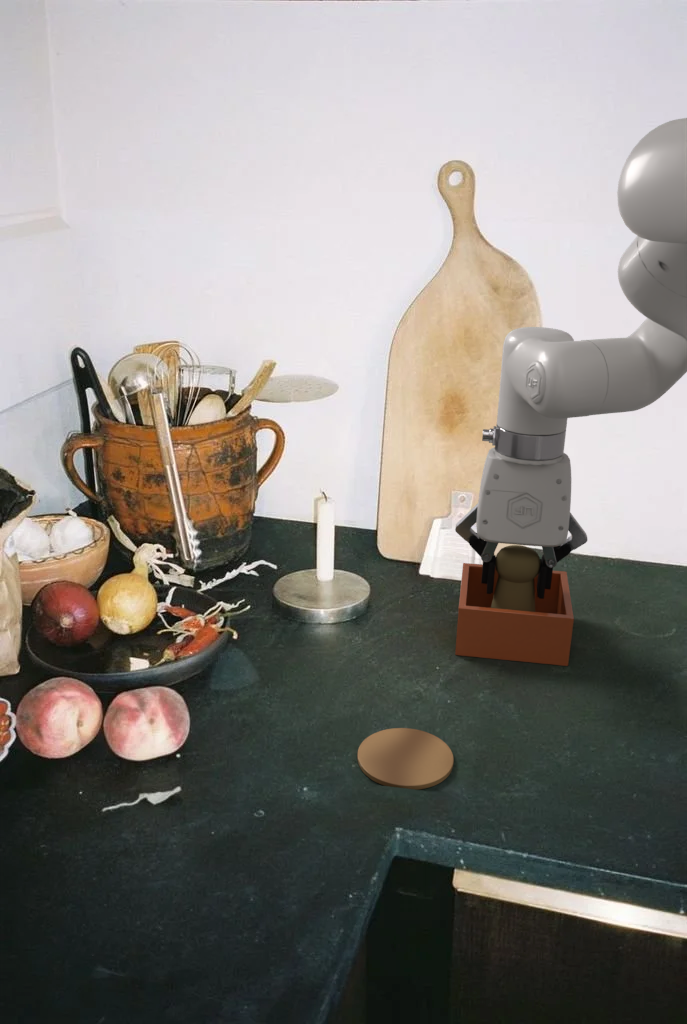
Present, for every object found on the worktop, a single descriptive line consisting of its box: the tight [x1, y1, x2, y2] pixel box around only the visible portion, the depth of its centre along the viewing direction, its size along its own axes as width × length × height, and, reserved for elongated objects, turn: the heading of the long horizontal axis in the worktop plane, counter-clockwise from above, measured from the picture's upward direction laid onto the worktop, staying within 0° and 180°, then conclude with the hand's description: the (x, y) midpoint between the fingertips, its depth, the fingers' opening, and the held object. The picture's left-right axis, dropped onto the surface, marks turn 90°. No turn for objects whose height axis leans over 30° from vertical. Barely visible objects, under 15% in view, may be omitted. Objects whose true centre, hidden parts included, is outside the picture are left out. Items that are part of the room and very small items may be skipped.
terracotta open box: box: [454, 562, 575, 667], centre depth 110 cm, size 13×13×6 cm
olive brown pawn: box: [491, 544, 541, 612], centre depth 110 cm, size 6×6×11 cm
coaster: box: [356, 727, 454, 791], centre depth 88 cm, size 9×9×1 cm
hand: (515, 590), depth 109 cm, fingers closed on olive brown pawn, 5 cm apart
